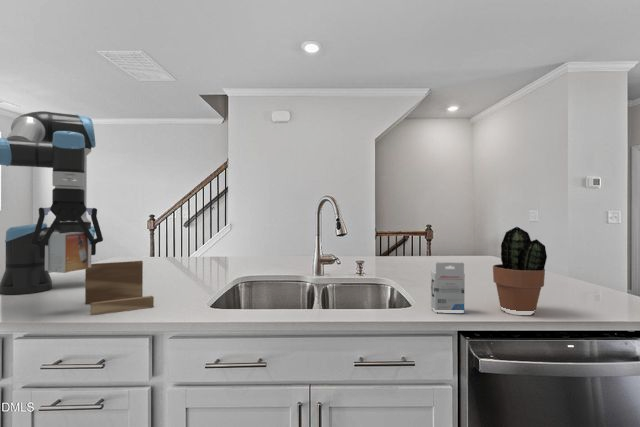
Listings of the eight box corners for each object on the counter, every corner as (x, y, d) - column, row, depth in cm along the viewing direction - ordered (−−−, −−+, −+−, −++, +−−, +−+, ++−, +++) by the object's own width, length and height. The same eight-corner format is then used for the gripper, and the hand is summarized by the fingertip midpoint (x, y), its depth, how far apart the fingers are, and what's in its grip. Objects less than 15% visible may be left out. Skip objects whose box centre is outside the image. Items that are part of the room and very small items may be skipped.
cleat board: (85, 303, 120) (85, 264, 120) (141, 296, 129) (141, 260, 129) (91, 315, 106) (91, 271, 106) (153, 307, 116) (153, 266, 116)
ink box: (458, 309, 117) (459, 260, 116) (464, 314, 112) (465, 262, 111) (430, 309, 117) (430, 260, 116) (434, 313, 112) (435, 262, 112)
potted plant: (494, 315, 110) (495, 227, 110) (490, 304, 123) (491, 225, 123) (549, 320, 106) (550, 228, 105) (539, 308, 118) (541, 226, 118)
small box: (64, 273, 105) (64, 234, 104) (47, 272, 106) (47, 233, 106) (88, 268, 113) (88, 232, 112) (71, 267, 114) (71, 231, 113)
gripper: (18, 186, 99) (18, 273, 100) (115, 189, 112) (114, 267, 113) (19, 186, 105) (19, 269, 106) (111, 189, 118) (110, 263, 119)
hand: (68, 268), depth 109 cm, fingers closed on small box, 9 cm apart
